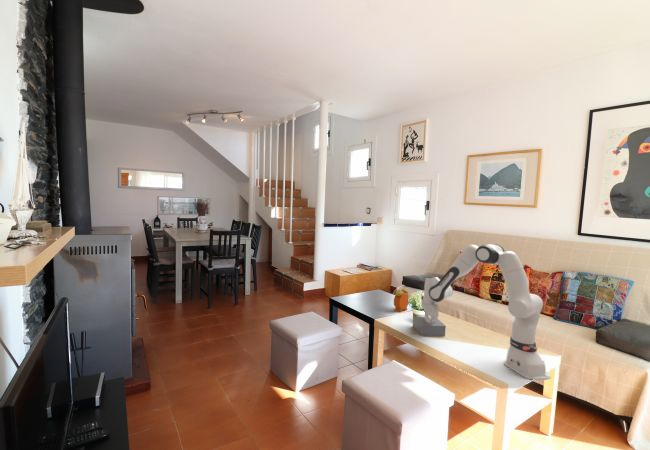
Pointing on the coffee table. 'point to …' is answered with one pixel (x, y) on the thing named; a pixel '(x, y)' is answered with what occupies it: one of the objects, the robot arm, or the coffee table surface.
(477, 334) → the coffee table surface
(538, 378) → the robot arm
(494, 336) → the coffee table surface
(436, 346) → the coffee table surface
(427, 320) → the plug peg
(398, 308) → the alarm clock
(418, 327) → the socket block
